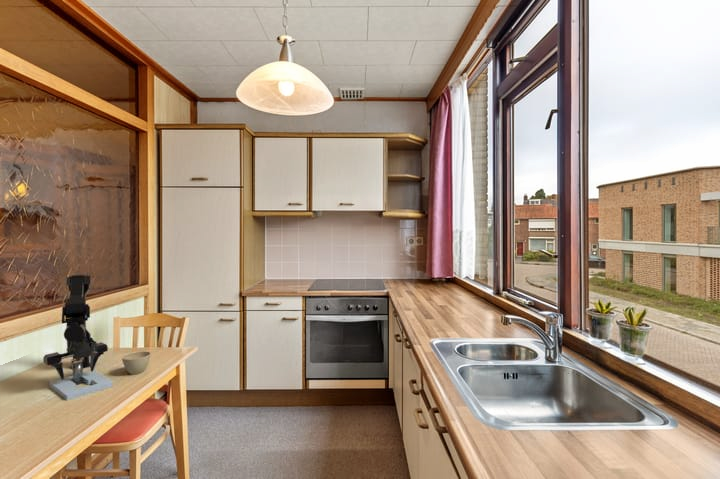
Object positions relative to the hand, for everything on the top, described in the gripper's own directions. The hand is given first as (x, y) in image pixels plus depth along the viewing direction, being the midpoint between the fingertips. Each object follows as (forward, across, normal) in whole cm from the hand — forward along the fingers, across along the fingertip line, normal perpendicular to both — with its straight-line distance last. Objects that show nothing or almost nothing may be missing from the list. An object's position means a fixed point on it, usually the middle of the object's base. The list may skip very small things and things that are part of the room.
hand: (77, 375), depth 137 cm
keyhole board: (+3, 0, -4) cm, 5 cm away
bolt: (+3, 0, 0) cm, 3 cm away
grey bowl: (+3, +18, -7) cm, 20 cm away
